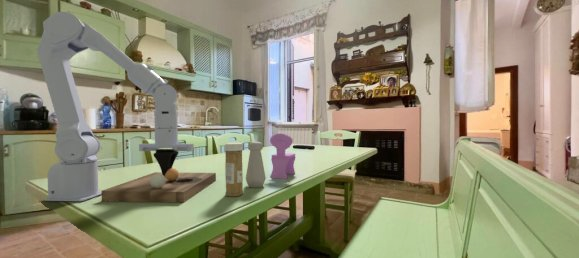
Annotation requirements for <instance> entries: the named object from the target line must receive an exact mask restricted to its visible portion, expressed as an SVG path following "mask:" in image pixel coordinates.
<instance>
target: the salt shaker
mask: <svg viewBox="0 0 579 258" xmlns="http://www.w3.org/2000/svg"><path fill="white" fill-rule="evenodd" d="M247 147H248V148H247V149H248V150H249V155H248V162H247V168H246V174H245V175H246V176H245V182H246V184H247V186H248V188H249V187H250V188H262V187H263V186H264V184H265V183H266V182H265V181H266V179H267V177H266V173H265V168H264V162H263V156H262V150H263V147H264V145H263V142H260V141H250V142H249V143H248V145H247Z"/></svg>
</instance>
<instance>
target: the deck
mask: <svg viewBox="0 0 579 258" xmlns="http://www.w3.org/2000/svg"><path fill="white" fill-rule="evenodd" d="M155 174H162V171H161V172H159V171H158V172H155V171H154V172H153V173H149V174H146V175H142V176H141V177H138V178H134V179H132V180H129V181H128V180H127V181H126V182H123V183H120V184H118V185H115V186H112V187H108V188H105V189H103V190H102V194H101V202H127V203H129V202H134V203H186V202H187V201H188V200H189V199H191V198H193V197H194V196H195V195H197V194H199V193H200V192H202V191H203V190H204V189H206V188H208V187H209V186H211V184H213V183H214V182H216V181H217V175H216V172H179V176H178V178H177V179H176V180H174V181H169V180H167V179H166V183H165V185H164V186H163V187H161V188H154V187H152V186H151V184H150V179H151V177H152V176H153V175H155ZM162 175H163V174H162Z"/></svg>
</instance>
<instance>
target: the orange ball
mask: <svg viewBox="0 0 579 258" xmlns="http://www.w3.org/2000/svg"><path fill="white" fill-rule="evenodd" d="M179 173H180V171H178V169H177V168H175V167H174V168H173V167H172V168H170V169H168V170H167V172H166V174H165V177H166V179H167V180H169V181H174V180H176V179H177V178H178V176H179Z"/></svg>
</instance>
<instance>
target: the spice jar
mask: <svg viewBox="0 0 579 258" xmlns="http://www.w3.org/2000/svg"><path fill="white" fill-rule="evenodd" d="M243 150H244V145H243V143H242V142H237V141H236V142H233V141H232V142H225V143H224V151H225V153H224V154H225V163H224V167H225V168H224V169H225V170H224V171H225V193H224V194H225V196H228V197H239V196H242V195H243V194H244V191H243V190H244V189H243V181H244V180H243V179H244V177H243Z"/></svg>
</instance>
